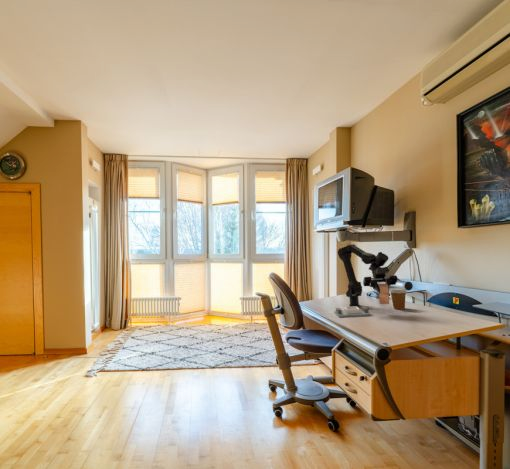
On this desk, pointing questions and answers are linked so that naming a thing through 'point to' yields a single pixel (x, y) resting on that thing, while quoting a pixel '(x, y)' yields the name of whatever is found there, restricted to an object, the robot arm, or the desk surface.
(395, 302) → the disposable coffee cup
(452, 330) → the desk surface
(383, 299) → the peg
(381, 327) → the desk surface
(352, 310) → the socket plate
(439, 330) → the desk surface
